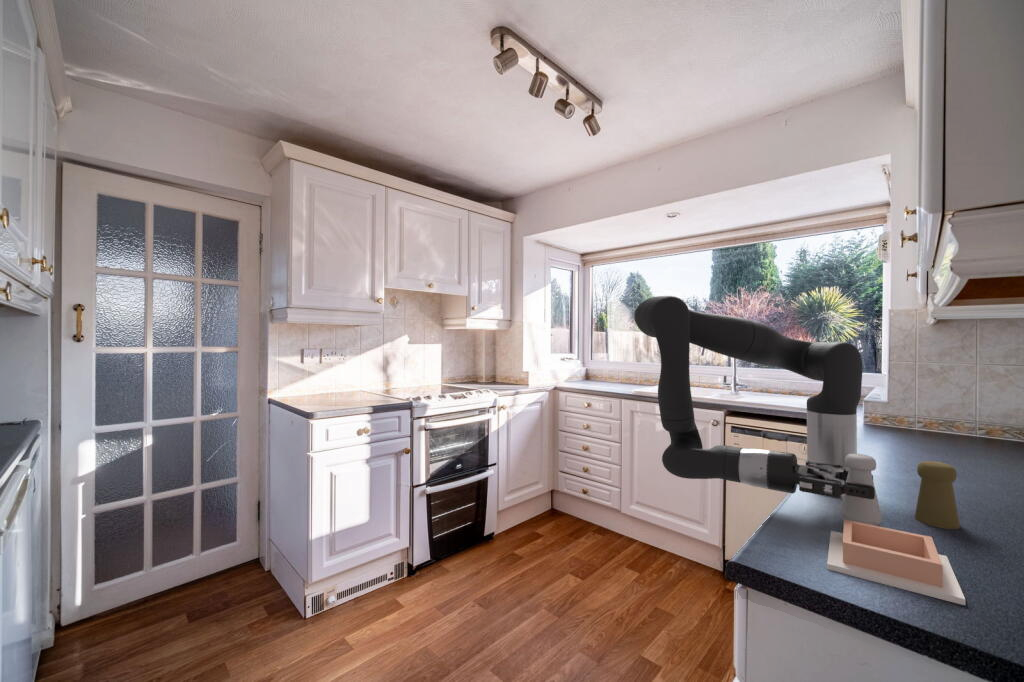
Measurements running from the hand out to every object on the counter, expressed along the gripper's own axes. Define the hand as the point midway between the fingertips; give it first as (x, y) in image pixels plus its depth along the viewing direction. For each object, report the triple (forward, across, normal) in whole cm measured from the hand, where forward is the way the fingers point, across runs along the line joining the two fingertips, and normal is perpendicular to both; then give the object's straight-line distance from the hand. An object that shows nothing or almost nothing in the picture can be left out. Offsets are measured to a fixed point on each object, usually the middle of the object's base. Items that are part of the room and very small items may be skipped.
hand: (873, 486), depth 75 cm
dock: (+1, -14, +8) cm, 16 cm away
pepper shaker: (+9, +12, +8) cm, 17 cm away
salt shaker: (-2, 0, +8) cm, 8 cm away
